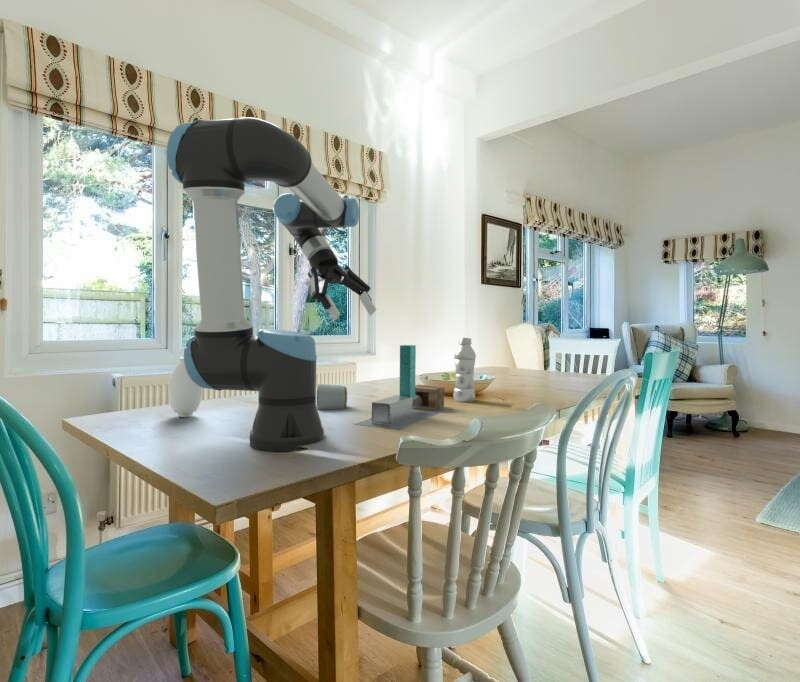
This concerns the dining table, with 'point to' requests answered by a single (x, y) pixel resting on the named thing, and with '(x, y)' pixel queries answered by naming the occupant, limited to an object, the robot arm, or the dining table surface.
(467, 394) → the plastic bottle
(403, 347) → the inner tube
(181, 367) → the white vase
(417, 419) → the base board
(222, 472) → the dining table surface
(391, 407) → the sleeve
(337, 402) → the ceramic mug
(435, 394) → the socket block
